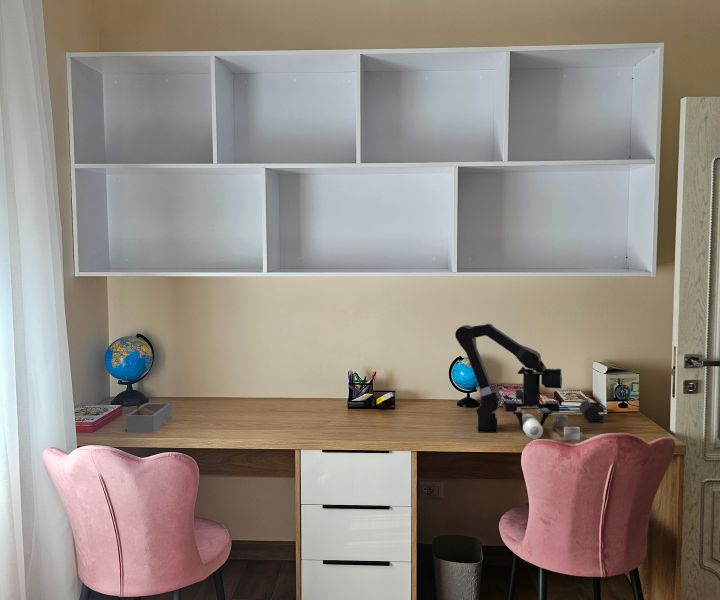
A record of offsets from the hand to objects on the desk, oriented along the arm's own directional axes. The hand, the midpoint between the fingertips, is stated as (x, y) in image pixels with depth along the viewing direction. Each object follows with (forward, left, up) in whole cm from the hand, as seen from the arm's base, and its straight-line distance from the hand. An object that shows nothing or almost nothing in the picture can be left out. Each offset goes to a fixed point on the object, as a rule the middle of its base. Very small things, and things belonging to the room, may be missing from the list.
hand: (530, 430), depth 249 cm
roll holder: (+12, -1, -2) cm, 12 cm away
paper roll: (-1, 0, -2) cm, 2 cm away
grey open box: (-142, +9, -2) cm, 142 cm away
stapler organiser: (-140, +9, -2) cm, 140 cm away
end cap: (+27, +21, -2) cm, 34 cm away
